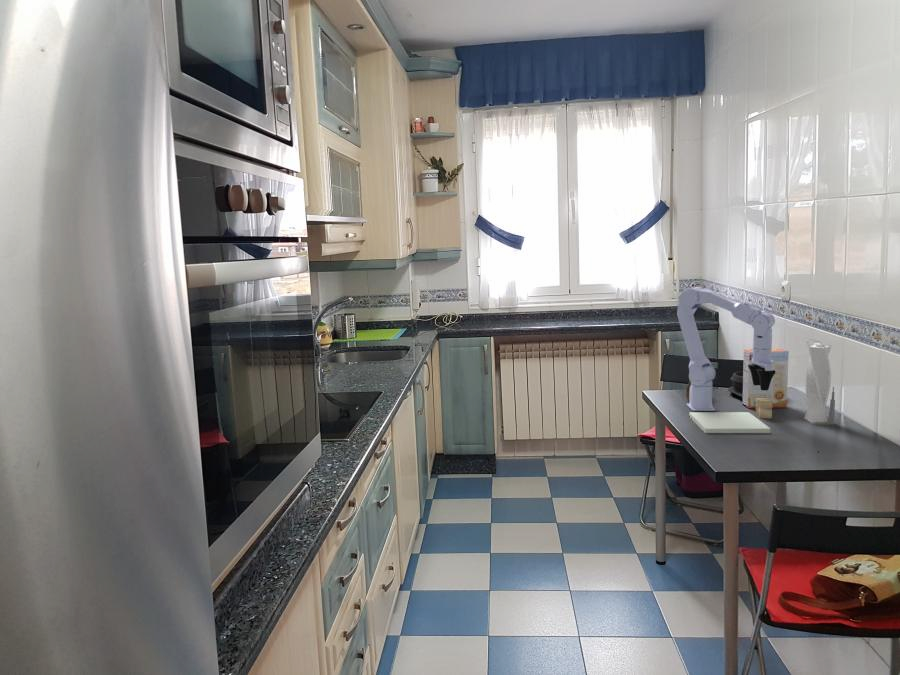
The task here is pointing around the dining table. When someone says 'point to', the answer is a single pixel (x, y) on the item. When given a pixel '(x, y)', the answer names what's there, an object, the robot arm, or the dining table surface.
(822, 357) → the skyscraper
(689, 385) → the tin
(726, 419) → the board
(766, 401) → the pine block
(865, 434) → the dining table surface
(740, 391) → the casserole
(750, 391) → the cracker box
